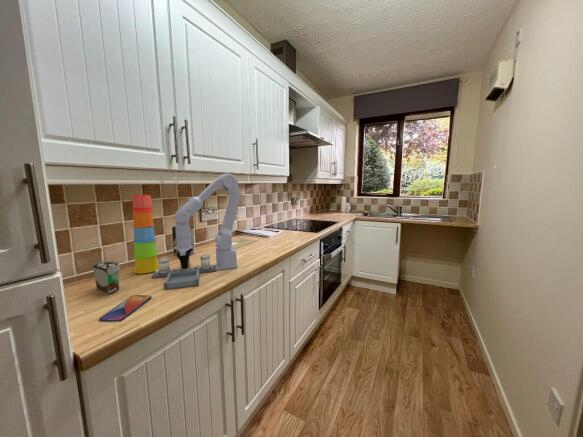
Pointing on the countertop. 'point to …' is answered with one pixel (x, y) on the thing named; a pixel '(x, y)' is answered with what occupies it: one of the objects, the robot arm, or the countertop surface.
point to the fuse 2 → (205, 262)
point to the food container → (107, 276)
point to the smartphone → (125, 308)
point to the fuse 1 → (164, 266)
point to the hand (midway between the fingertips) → (185, 266)
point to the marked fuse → (186, 268)
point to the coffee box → (176, 240)
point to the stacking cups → (144, 235)
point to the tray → (182, 279)
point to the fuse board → (158, 275)
